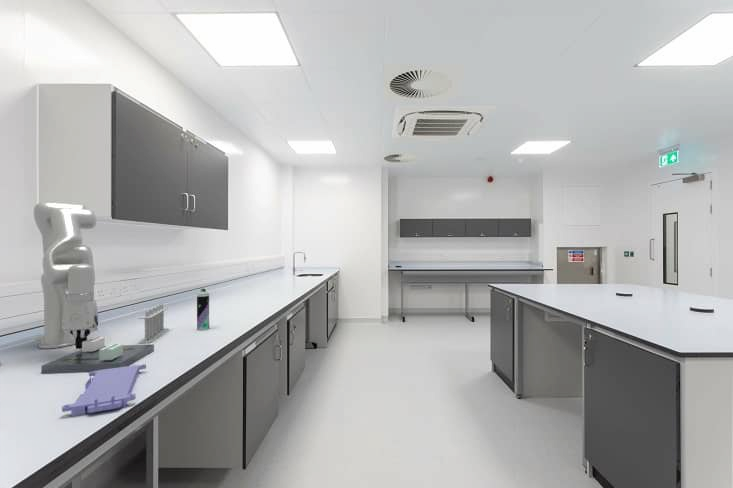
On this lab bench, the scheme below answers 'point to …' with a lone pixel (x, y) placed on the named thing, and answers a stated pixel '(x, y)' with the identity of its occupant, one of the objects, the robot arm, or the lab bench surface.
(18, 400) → the lab bench surface
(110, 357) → the fader green
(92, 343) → the block
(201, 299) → the spray can
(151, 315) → the test tube rack
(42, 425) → the lab bench surface
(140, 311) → the lab bench surface
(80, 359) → the dark grey flat board
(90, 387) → the computer part
